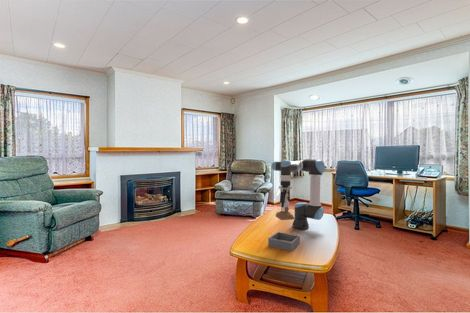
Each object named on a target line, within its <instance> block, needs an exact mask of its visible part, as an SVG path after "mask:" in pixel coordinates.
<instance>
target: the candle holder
mask: <svg viewBox="0 0 470 313" xmlns="http://www.w3.org/2000/svg"><path fill="white" fill-rule="evenodd" d="M278 189H285V190H287V192H288V190H289V189H290V190H292V189H293V187H292V186H291V185H290V186H288V187H287V188H282V186H281V185H279V186H278ZM288 196H289V195H288V193H286V195H285V202H284V203H285V212H284V211H281V210H280V211H277V212H276V213H275V217H276V218H277V219H278V220H280V221H286V220H287V221H289V220H291V221H292V220H293V221H294V215H293V213H292V212H290V211H289V210H290V205H291V204H290V201H288V199H287V197H288ZM279 206H281V203H280V202H279ZM288 207H289V208H288Z"/></svg>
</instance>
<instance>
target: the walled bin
mask: <svg viewBox="0 0 470 313" xmlns="http://www.w3.org/2000/svg"><path fill="white" fill-rule="evenodd" d="M267 242H268V243H267V244H268V245H267V247H271V248H274V249H280V250H283V251H287V252H292V251H294V250H295V249H296V248H297V247H298V246H299V245H300V243H301V235H297V234H292V233H286V232H281V231H277V232H275V233H274V234H272V235H271V236H269V237H268V238H267Z"/></svg>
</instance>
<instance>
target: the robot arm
mask: <svg viewBox="0 0 470 313" xmlns="http://www.w3.org/2000/svg"><path fill="white" fill-rule="evenodd" d="M271 169H272V170H273V171H276V172H280V176H279V177H280V184H279V186H282V188H287V187H288V186H290V187H291V177H292V176H291V173H297V172H298V171H300V172H301V171H302V172H307V173H308V175H309V177H310V184H309V185H310V186H309V187H310V188H309V189H310V190H309V202H305V201H304V202H303V201H302V202H297V203H295V204H294V213H293V214H294V215H293V217H294V219H293V221H292V223H291V224H292V228H294V229H297V230H308V229H309V228H310V225H309V221H308V219H312V220H317V221H319V220H321V219H323V216H324V213H325V209H324V207H323V206H322V203H321V177H322V176H323V174H324V173H325V170H326V165H325V163H324V161H323V160H321V159H314V158H313V159H310V158H309V159H308V158H307V159H306V158H305V159H297V160H294V161H291V160H288V159H285V160H284V159H282V160H281V161H273V162H272V163H271ZM279 189H280V188H279ZM286 193H288V195H289V196H288V197H287V199H288V201H289V202H290V201H291V200H290V199H291V189H289V190H288V192H287V190H285V189H280V193H279V194H280V195H279V204H280V203H281V205H280V211H284V212H285V203H284V202H285V195H286ZM288 208H289V209H290V206H289V207H288Z"/></svg>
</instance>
